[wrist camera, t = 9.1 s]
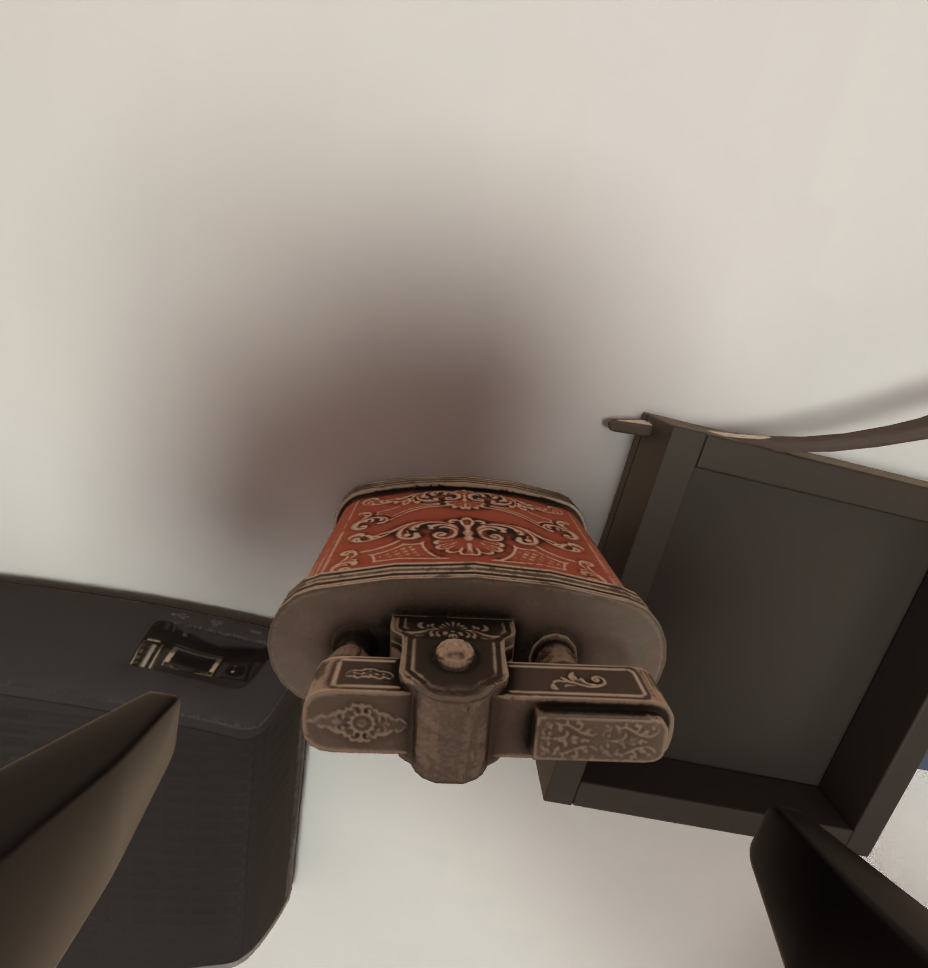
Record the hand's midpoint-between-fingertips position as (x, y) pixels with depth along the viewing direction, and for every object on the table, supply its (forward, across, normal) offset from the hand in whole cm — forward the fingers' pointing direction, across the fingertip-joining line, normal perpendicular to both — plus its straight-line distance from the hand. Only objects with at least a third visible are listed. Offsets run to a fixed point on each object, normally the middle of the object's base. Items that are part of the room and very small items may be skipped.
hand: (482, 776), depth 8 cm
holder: (+11, -11, +1) cm, 15 cm away
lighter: (+11, 0, 0) cm, 11 cm away
